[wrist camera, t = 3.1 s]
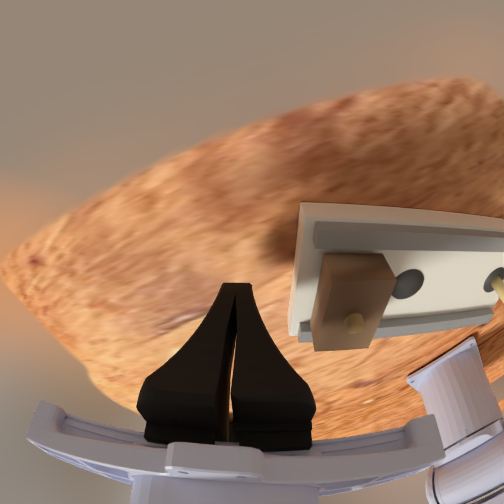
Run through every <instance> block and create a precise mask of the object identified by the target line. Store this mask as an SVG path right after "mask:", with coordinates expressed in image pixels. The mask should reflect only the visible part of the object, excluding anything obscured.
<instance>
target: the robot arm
mask: <svg viewBox="0 0 504 504" xmlns="http://www.w3.org/2000/svg"><path fill="white" fill-rule="evenodd" d="M236 335H237V337H236ZM235 342H236V349H235V359H234V369H233V377H232V386H231V401H232V409H233V432H234V438H235V442H228V433H229V400H230V377H231V368H232V361H233V355H234V348H235ZM406 381H407V383H408V384H409V385H411V386H412V387H413V388H414V389H415V390H417V391H418V392H419V393H420V394H421V396H422V399H423V402H424V405H425V408H426V412H427V415H426V416H422V417H418V418H415V419H412V420H410V421H409V422H407V423H406V425H405V426H404V427H400V428H395V429H390V430H386V431H380V432H375V433H369V434H364V435H357V436H350V437H343V438H335V439H326V440H315V441H312V437H311V430H312V422H311V420H312V418H313V416H314V414H315V412H316V404H315V401H314V397H313V395H312V392H311V390H310V388H309V386H308V384H307V383H306V382H305V381H304V380H303V379H302V378H301V377H300V376H299V375H298V374H297V373H296V371H295V370H294V369H293V368H292V367H291V366H290V364H289V363H288V362H287V360H286V359H285V358H284V356H283V355H282V354H281V352H280V351H279V350H278V348H277V346H276V345H275V343H274V342H273V340H272V338H271V337H270V335H269V333H268V331H267V329H266V327H265V325H264V323H263V321H262V319H261V316H260V314H259V311H258V309H257V306H256V303H255V300H254V296H253V291H252V285H251V284H250V283H223V284H222V286H221V288H220V291H219V293H218V295H217V297H216V299H215V301H214V303H213V305H212V307H211V308H210V310H209V312H208V314H207V315H206V317H205V318H204V320H203V321H202V323H201V324H200V326H199V327H198V328H197V330H196V331H195V332H194V334H193V335H192V336H191V337H190V339H189V340H188V341H187V342H186V343H185V344H184V345H183V347H182V348H181V349H180V350H179V351H178V352H177V353H176V354H175V355H174V356H173V357H171V358H170V359H169V360H168V361H167V362H166V363H165V364H164V365H163V366H161V367H160V368H159V369H157V370H156V371H155V372H153V373H152V374H151V375H149V376H148V377H147V378H146V379H145V381H144V383H143V385H142V388H141V390H140V393H139V397H138V402H137V406H136V407H137V410H138V411H139V413H140V414H141V415H142V417H143V418H144V419H145V420H146V422H147V423H146V428H145V433H144V432H139V431H133V430H129V429H123V428H119V427H115V426H111V425H107V424H103V423H99V422H95V421H91V420H88V419H84V418H81V417H78V416H74V415H71V414H68V413H66V412H65V411H64V410H63V409H62V408H61V407H60V406H58V405H56V404H53V403H51V402H48V401H45V400H42V399H40V400H39V402H38V404H37V407H36V410H35V412H34V415H33V418H32V421H31V423H30V426H29V429H28V432H27V436H26V439H27V440H28V441H30V442H31V443H33V444H34V445H36V446H37V447H39V448H40V449H42V450H43V451H45V452H46V453H48V454H49V455H51V456H53V457H55V458H58V459H60V460H63V461H65V462H68V463H70V464H72V465H75V466H77V467H80V468H83V469H86V470H88V471H91V472H93V473H96V474H99V475H102V476H105V477H108V478H111V479H114V480H117V481H121V482H124V483H127V484H131V485H133V486H132V492H131V499H130V504H319V497H320V496H326V495H333V494H338V493H343V492H348V491H353V490H357V489H362V488H367V487H371V486H374V485H378V484H382V483H386V482H389V481H393V480H396V479H400V478H403V477H406V476H410V475H413V474H416V473H419V472H421V471H423V470H425V469H427V468H429V467H430V469H429V472H428V474H427V477H426V483H425V487H426V488H425V489H426V496H427V499H428V502H429V504H466V503H468V502H471V501H473V500H475V499H477V498H479V497H482V496H484V495H486V494H488V493H490V492H492V491H493V490H495V489H497V488H499V487H501V486H503V485H504V419H503V416H502V413H501V410H500V407H499V405H498V402H497V400H496V397H495V395H494V392H493V390H492V387H491V385H490V383H489V380H488V378H487V376H486V374H485V371H484V369H483V363H482V360H481V356H480V353H479V349H478V346H477V343H476V340H475V338H474V336H471V337H469V338H468V339H467V340H465V341H464V342H462V343H461V344H459V345H458V346H456V347H455V348H453V349H452V350H450V351H449V352H447V353H446V354H444V355H443V356H441V357H440V358H438V359H436V360H435V361H433V362H432V363H430V364H428V365H427V366H425V367H423V368H422V369H420V370H418V371H416V372H415V373H413V374H411V375H409V376H408V377H407V378H406ZM472 504H504V488H503V489H501V490H499V491H497V492H496V493H493V494H491V495H489V496H487V497H485V498H483V499H481V500H479V501H477V502H474V503H472Z"/></svg>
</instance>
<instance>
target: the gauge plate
mask: <svg viewBox="0 0 504 504" xmlns="http://www.w3.org/2000/svg"><path fill="white" fill-rule="evenodd" d="M324 253H383V255H384V257H385V259H386V261H387V262H388V264H389V266H390V268H391V270H392V272H393V273H394V275H395V277H396V279H397V281H396V284H395V287H394V289H393V292H392V294H391V297H390V299H389V302H388V304H387V307H386V309H385V311H384V314H383V316H382V318H381V321H380V323H379V325H378V328H377V330H376V332H375V334H374V336H373V339H374V338H386V337H396V336H405V335H414V334H422V333H430V332H437V331H444V330H450V329H457V328H463V327H468V326H474V325H480V324H485V323H488V322H489V321H490V319H491V318H492V316H493V315H494V313H493V311H492V309H493V307H494V306H495V304H496V302H497V301H498V299H499V297H500V299H501V300H502V302H503V303H504V219H502V218H495V217H487V216H479V215H471V214H462V213H453V212H444V211H434V210H423V209H412V208H400V207H387V206H372V205H356V204H337V203H313V202H300V211H299V221H298V231H297V241H296V250H295V259H294V268H293V277H292V285H291V293H290V301H289V309H288V316H287V319H288V329H289V336H298V340H299V343H300V342H313V339H312V332H311V326H310V320H311V316H312V311H313V306H314V301H315V297H316V292H317V287H318V281H319V276H320V271H321V265H322V260H323V254H324Z"/></svg>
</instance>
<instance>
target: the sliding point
mask: <svg viewBox="0 0 504 504" xmlns="http://www.w3.org/2000/svg"><path fill="white" fill-rule="evenodd" d="M396 281H397V279H396V277H395V275H394V273H393V272H392V270H391V268H390V266H389V264H388V262H387V261H386V259H385V257H384V255H383V253H324V254H323V260H322V265H321V271H320V276H319V281H318V287H317V292H316V297H315V301H314V306H313V311H312V316H311V320H310V326H311V332H312V339H313V345H314V351H335V350H350V349H363V348H368V347H369V345H370V343H371V341H372V339H373V336H374V334H375V332H376V330H377V328H378V325H379V323H380V321H381V318H382V316H383V314H384V311H385V309H386V307H387V304H388V302H389V299H390V297H391V294H392V292H393V289H394V287H395V284H396Z"/></svg>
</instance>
